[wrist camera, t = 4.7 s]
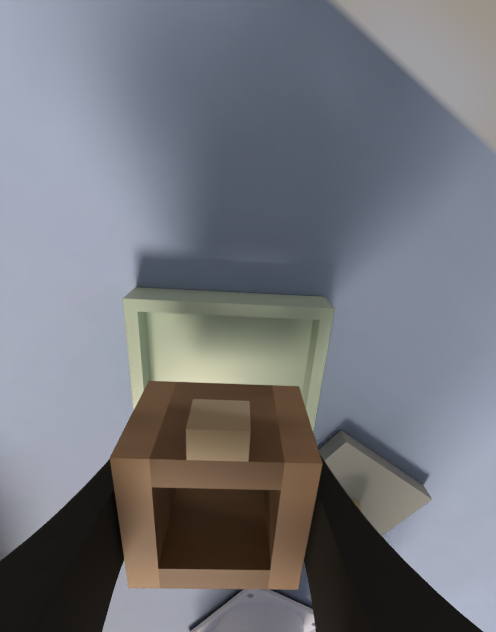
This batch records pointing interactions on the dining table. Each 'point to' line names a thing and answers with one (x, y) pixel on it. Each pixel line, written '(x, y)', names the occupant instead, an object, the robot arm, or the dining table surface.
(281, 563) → the brown hollow square box
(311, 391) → the tray
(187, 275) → the dining table surface
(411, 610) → the robot arm
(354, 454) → the grey square peg base
